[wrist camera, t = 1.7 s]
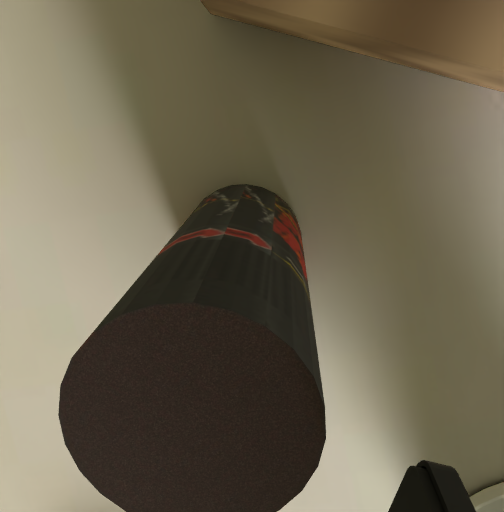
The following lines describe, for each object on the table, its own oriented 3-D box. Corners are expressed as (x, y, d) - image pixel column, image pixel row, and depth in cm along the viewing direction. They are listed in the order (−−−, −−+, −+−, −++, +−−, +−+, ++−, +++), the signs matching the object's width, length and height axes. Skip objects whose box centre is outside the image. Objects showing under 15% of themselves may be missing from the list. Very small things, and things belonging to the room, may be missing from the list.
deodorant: (187, 180, 24) (48, 291, 10) (306, 188, 24) (340, 313, 10) (186, 290, 26) (66, 519, 12) (296, 298, 26) (313, 542, 11)
